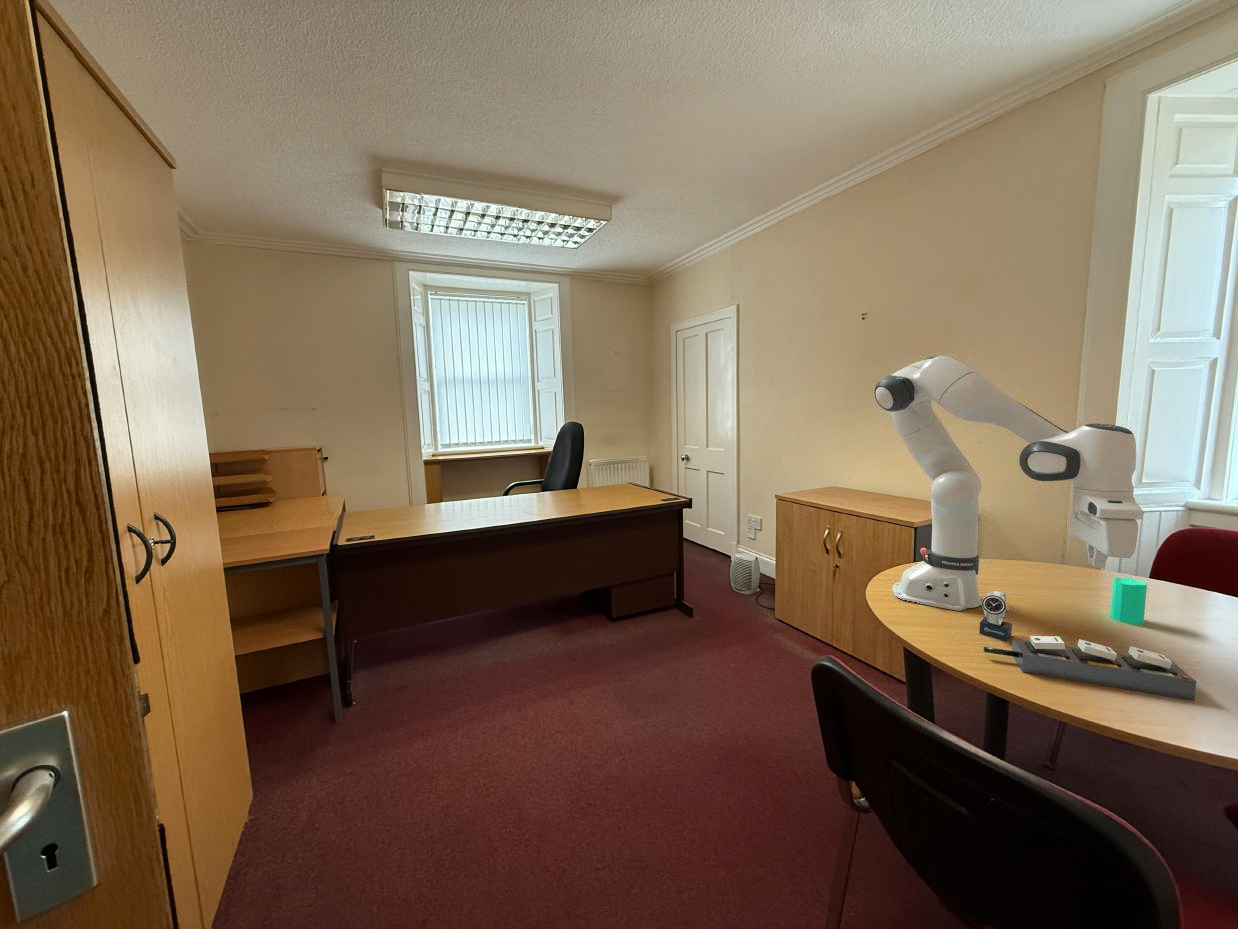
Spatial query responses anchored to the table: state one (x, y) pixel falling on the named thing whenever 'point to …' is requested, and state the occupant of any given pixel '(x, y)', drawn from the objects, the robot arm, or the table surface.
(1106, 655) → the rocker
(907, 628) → the table surface
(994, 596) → the watch
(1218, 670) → the table surface
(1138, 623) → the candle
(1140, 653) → the rocker
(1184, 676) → the strip
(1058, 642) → the plate
